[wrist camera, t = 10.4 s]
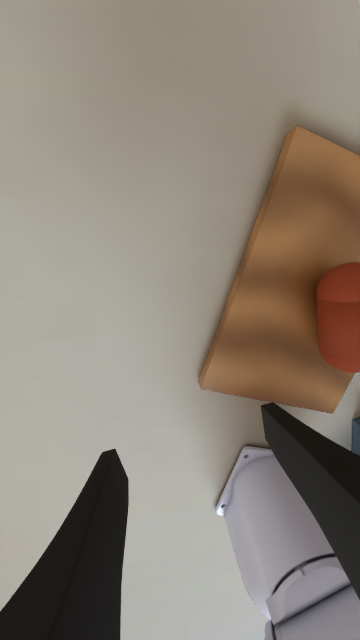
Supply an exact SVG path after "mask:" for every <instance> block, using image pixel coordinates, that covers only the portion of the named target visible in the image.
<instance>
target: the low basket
mask: <svg viewBox="0 0 360 640" xmlns="http://www.w3.org/2000/svg"><path fill="white" fill-rule="evenodd" d="M352 452H353V453H355V454H357V455H359V456H360V418H357V419H354V420H353V427H352Z"/></svg>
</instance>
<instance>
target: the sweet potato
mask: <svg viewBox="0 0 360 640" xmlns="http://www.w3.org/2000/svg"><path fill="white" fill-rule="evenodd" d="M316 303H317V330H318V348H319V351H320V354H321V356H322V357H323V359H324V360H325V361H326V362H327V363H328V364H329V365H331V366H332V367H334V368H336V369H338V370H341V371H344V372H350V373H357V372H360V262H349V263H344V264H341V265H338V266H336V267H334V268H332V269H331V270H329V271H328V272H327V273H326V274H325V275H324V276H323V277H322V278H321V280H320V282H319V283H318V286H317V292H316Z"/></svg>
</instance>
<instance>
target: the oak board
mask: <svg viewBox="0 0 360 640" xmlns="http://www.w3.org/2000/svg"><path fill="white" fill-rule="evenodd" d="M349 262H360V156H359V155H357V154H355V153H353V152H351V151H349V150H347V149H345V148H343V147H341V146H339V145H337V144H335V143H333V142H331V141H329V140H327V139H325V138H323V137H321V136H318V135H316V134H314V133H312V132H310V131H308V130H306V129H304V128H302V127H300V126H296V127H295V128H293V129H292V130H291V131H289V132H288V133H287V135H286V138H285V141H284V144H283V147H282V149H281V152H280V155H279V158H278V161H277V163H276V166H275V169H274V172H273V174H272V177H271V180H270V183H269V186H268V188H267V191H266V194H265V197H264V200H263V202H262V205H261V208H260V211H259V214H258V216H257V219H256V222H255V225H254V228H253V230H252V233H251V236H250V239H249V241H248V244H247V247H246V250H245V253H244V255H243V258H242V261H241V264H240V267H239V269H238V272H237V275H236V278H235V281H234V283H233V286H232V289H231V292H230V294H229V297H228V300H227V303H226V306H225V308H224V311H223V314H222V317H221V320H220V322H219V325H218V328H217V331H216V334H215V336H214V339H213V342H212V345H211V348H210V350H209V353H208V356H207V359H206V361H205V364H204V367H203V370H202V373H201V375H200V378H199V381H198V382H199V385H200V387H201V389H204V390H209V391H214V392H220V393H225V394H231V395H236V396H241V397H247V398H252V399H257V400H263V401H268V402H273V403H279V404H284V405H289V406H295V407H300V408H305V409H311V410H316V411H321V412H327V413H333V412H334V410H335V408H336V407H337V405H338V403H339V401H340V399H341V398H342V396H343V394H344V392H345V390H346V388H347V387H348V385H349V383H350V381H351V379H352V378H353V376H354V374H355V373H350V372H344V371H341V370H338V369H336V368H334V367H332V366H331V365H329V364H328V363H327V362H326V361H325V360H324V359H323V357H322V356H321V354H320V351H319V348H318V330H317V303H316V292H317V286H318V283H319V282H320V280H321V278H322V277H323V276H324V275H325V274H326V273H327V272H328V271H329V270H331V269H332V268H334V267H336V266H338V265H341V264H344V263H349Z"/></svg>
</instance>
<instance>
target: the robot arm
mask: <svg viewBox="0 0 360 640" xmlns="http://www.w3.org/2000/svg"><path fill="white" fill-rule="evenodd" d="M261 411H262V418H263V425H264V432H265V438H266V440H267V442H268V444H269V446H270V448H271V449H265V448H258V447H251V446H246V447H244V448H243V449H242V451H241V454H240V456H239V458H238V460H237V462H236V465H235V467H234V469H233V471H232V473H231V476H230V478H229V480H228V482H227V484H226V487H225V489H224V491H223V493H222V496H221V498H220V500H219V502H218V504H217V507H216V509H215V511H216V514H217V515H222V516H224V518H225V521H226V525H227V528H228V532H229V535H230V539H231V542H232V546H233V549H234V553H235V556H236V559H237V563H238V566H239V570H240V573H241V577H242V580H243V583H244V586H245V588H246V590H247V592H248V594H249V596H250V598H251V599H252V601H253V602H254V604H255V605H256V606H257V608H258V609H259V610H260V611H261V612H262V613H263V614H264V615H265V616H266V617H267V618H268V619H270V620H269V621H267V622H266V625H265V639H264V640H360V456H359V455H357V454H355V453H353V452H351V451H349V450H347V449H346V448H344V447H342V446H340V445H338V444H337V443H335V442H333V441H331V440H330V439H328V438H326V437H325V436H323V435H321V434H320V433H318V432H316V431H315V430H313V429H312V428H310V427H309V426H307V425H305V424H304V423H302V422H301V421H299V420H298V419H296V418H295V417H293V416H292V415H291V414H289V413H288V412H286V411H285V410H283V409H282V408H281V407H279V406H278V405H276V404H275V403H273V402H272V403H268V404H265V405H262V406H261ZM127 515H128V477H127V475H126V473H125V470H124V468H123V466H122V463H121V461H120V459H119V456H118V454H117V452H116V449H112V450H109V451H105V452H102V454H101V455H100V457H99V459H98V461H97V463H96V465H95V467H94V469H93V471H92V473H91V475H90V476H89V478H88V480H87V482H86V484H85V486H84V488H83V489H82V491H81V493H80V495H79V497H78V498H77V500H76V502H75V504H74V506H73V507H72V509H71V511H70V512H69V514H68V516H67V517H66V519H65V521H64V522H63V524H62V526H61V527H60V529H59V530H58V532H57V534H56V535H55V537H54V538H53V540H52V541H51V543H50V544H49V546H48V547H47V549H46V550H45V552H44V553H43V555H42V556H41V558H40V559H39V561H38V562H37V564H36V565H35V566H34V568H33V569H32V570H31V572H30V573H29V575H28V576H27V577H26V579H25V580H24V581H23V583H22V584H21V585H20V587H19V588H18V589H17V591H16V592H15V593H14V595H13V596H12V597H11V599H10V600H9V601H8V603H7V604H6V605H5V606H4V608H3V609H2V610H1V611H0V640H120V615H121V581H122V567H123V557H124V547H125V536H126V526H127Z"/></svg>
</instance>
